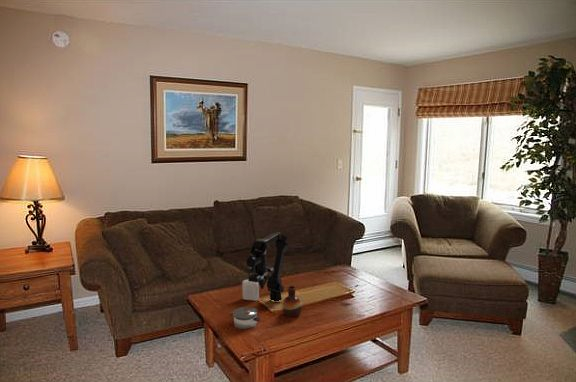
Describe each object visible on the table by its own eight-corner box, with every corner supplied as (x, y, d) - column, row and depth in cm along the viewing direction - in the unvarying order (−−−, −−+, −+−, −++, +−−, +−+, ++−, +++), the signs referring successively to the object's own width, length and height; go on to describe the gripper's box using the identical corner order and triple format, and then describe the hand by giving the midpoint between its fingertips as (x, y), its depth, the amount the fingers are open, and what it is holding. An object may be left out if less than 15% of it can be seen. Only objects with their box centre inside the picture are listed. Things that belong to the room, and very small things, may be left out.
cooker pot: (238, 315, 219) (238, 307, 218) (265, 321, 210) (265, 313, 210) (225, 324, 208) (225, 316, 208) (252, 331, 200) (252, 323, 199)
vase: (295, 320, 211) (294, 292, 209) (278, 315, 217) (277, 289, 215) (305, 312, 221) (305, 285, 219) (289, 308, 226) (288, 282, 224)
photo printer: (260, 298, 242) (259, 279, 240) (257, 301, 237) (256, 281, 236) (244, 297, 245) (243, 278, 243) (241, 299, 241) (240, 280, 239)
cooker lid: (242, 307, 218) (242, 303, 217) (262, 311, 211) (261, 307, 211) (227, 316, 206) (227, 312, 206) (248, 321, 200) (248, 317, 200)
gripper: (258, 255, 233) (259, 281, 235) (239, 265, 217) (241, 292, 219) (274, 258, 227) (275, 283, 230) (256, 267, 211) (257, 295, 213)
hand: (262, 288), depth 223 cm, fingers closed
